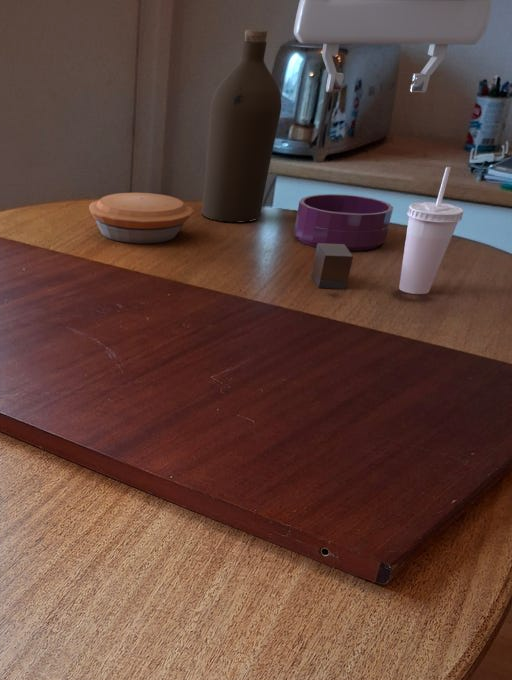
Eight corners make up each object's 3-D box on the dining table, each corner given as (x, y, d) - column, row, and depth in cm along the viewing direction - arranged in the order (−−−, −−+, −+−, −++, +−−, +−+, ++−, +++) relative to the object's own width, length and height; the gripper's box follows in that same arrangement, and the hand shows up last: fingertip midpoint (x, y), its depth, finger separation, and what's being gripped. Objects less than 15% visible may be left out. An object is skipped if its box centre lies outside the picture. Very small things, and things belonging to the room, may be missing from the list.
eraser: (311, 274, 117) (317, 243, 115) (337, 275, 117) (344, 244, 115) (318, 288, 113) (325, 255, 110) (346, 289, 113) (353, 256, 110)
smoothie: (445, 288, 113) (481, 167, 105) (432, 300, 109) (469, 175, 101) (396, 279, 116) (427, 160, 108) (381, 291, 112) (412, 169, 103)
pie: (148, 254, 124) (151, 215, 121) (66, 233, 133) (68, 197, 130) (210, 234, 133) (214, 199, 130) (130, 217, 142) (133, 182, 139)
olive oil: (271, 224, 139) (303, 33, 124) (205, 224, 138) (229, 32, 123) (253, 208, 147) (281, 28, 132) (191, 208, 147) (212, 27, 131)
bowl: (373, 230, 137) (382, 195, 133) (392, 253, 126) (402, 216, 123) (287, 227, 137) (294, 192, 134) (300, 250, 127) (307, 212, 124)
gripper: (310, -63, 90) (286, 94, 99) (516, -64, 89) (473, 96, 97) (301, -62, 95) (279, 88, 104) (496, -62, 94) (457, 89, 102)
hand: (375, 92), depth 100 cm, fingers open, 8 cm apart
